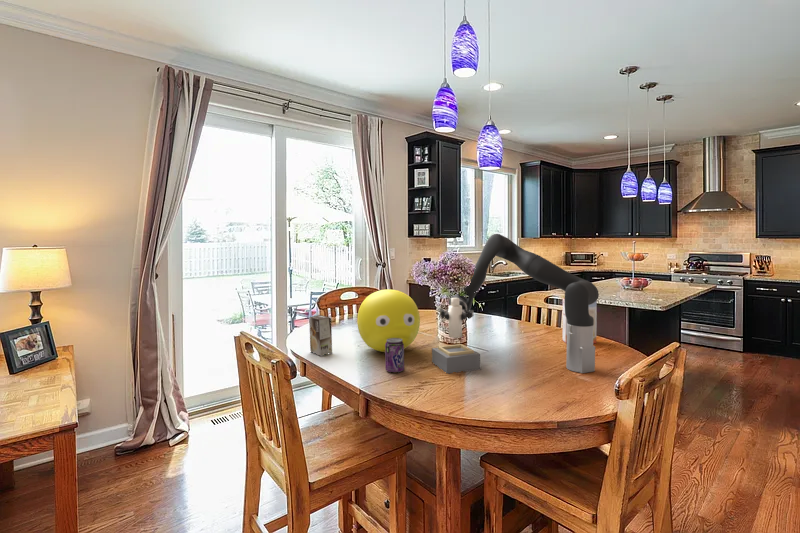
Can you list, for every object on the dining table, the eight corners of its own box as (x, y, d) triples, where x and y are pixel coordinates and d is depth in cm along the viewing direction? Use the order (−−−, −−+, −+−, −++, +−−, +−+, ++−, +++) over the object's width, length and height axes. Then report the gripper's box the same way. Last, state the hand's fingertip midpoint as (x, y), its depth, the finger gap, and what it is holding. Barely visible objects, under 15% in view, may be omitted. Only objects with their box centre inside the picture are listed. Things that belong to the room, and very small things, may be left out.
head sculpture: (365, 363, 171) (363, 295, 169) (353, 345, 198) (351, 287, 196) (429, 356, 179) (428, 292, 177) (409, 341, 206) (408, 284, 204)
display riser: (480, 369, 161) (480, 351, 161) (446, 373, 157) (446, 355, 156) (463, 359, 174) (463, 342, 174) (432, 362, 170) (431, 345, 170)
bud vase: (464, 337, 163) (464, 298, 162) (452, 338, 162) (451, 299, 161) (458, 334, 168) (458, 296, 167) (446, 335, 167) (446, 297, 165)
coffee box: (333, 353, 185) (332, 317, 184) (320, 356, 181) (319, 319, 180) (322, 349, 192) (321, 314, 191) (309, 352, 188) (308, 316, 187)
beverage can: (388, 374, 157) (387, 342, 156) (383, 368, 163) (383, 338, 162) (406, 372, 158) (406, 341, 158) (401, 367, 165) (401, 337, 164)
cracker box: (592, 340, 201) (592, 297, 200) (596, 344, 195) (597, 299, 194) (561, 340, 203) (562, 297, 201) (565, 343, 197) (566, 299, 195)
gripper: (440, 300, 179) (436, 307, 163) (475, 300, 177) (473, 308, 160) (440, 317, 180) (436, 326, 163) (475, 318, 177) (473, 327, 161)
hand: (454, 317), depth 162 cm, fingers closed on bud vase, 5 cm apart
